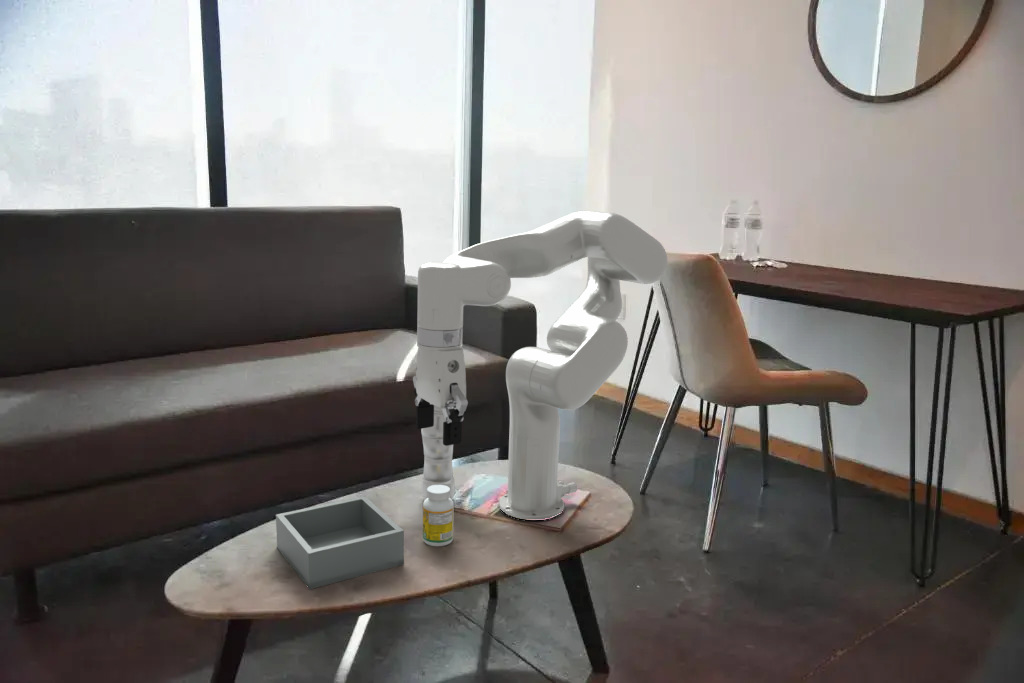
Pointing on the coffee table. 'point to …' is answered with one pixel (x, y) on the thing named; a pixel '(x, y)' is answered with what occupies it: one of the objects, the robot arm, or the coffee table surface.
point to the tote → (339, 541)
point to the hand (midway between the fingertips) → (438, 435)
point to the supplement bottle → (438, 516)
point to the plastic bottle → (437, 456)
